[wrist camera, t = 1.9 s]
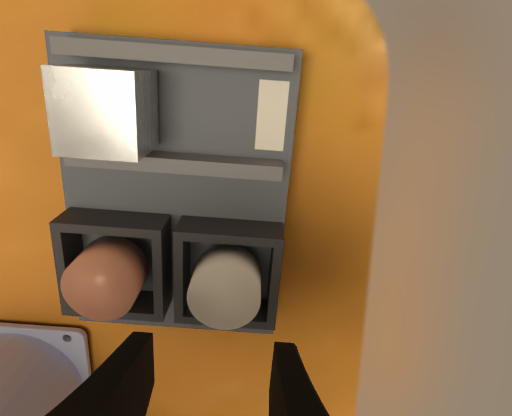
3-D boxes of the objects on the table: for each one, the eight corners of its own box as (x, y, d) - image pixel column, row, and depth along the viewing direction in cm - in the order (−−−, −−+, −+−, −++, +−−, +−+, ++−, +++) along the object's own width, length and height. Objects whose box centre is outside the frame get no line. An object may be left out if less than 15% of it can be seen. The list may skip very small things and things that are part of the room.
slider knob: (87, 140, 16) (52, 156, 13) (79, 63, 15) (40, 64, 12) (158, 145, 16) (138, 162, 13) (156, 69, 15) (134, 71, 12)
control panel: (95, 297, 22) (62, 344, 18) (69, 33, 17) (15, 26, 13) (272, 310, 22) (273, 359, 18) (299, 50, 17) (307, 48, 13)
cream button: (194, 299, 18) (186, 327, 16) (195, 241, 17) (186, 264, 15) (258, 303, 18) (258, 332, 16) (263, 246, 17) (263, 270, 15)
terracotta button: (85, 291, 18) (64, 318, 16) (79, 233, 17) (56, 255, 15) (149, 296, 18) (136, 323, 16) (147, 238, 17) (133, 260, 15)
